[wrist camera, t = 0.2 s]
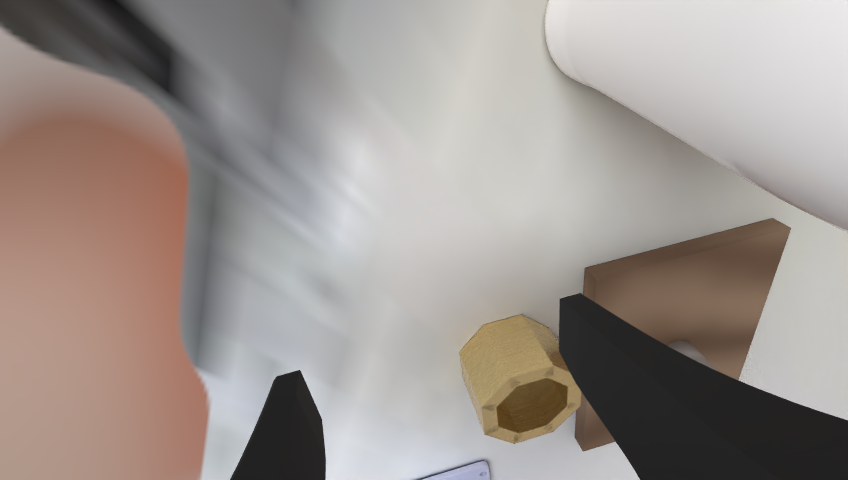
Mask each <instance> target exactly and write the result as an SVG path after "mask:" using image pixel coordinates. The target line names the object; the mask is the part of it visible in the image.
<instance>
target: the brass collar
mask: <svg viewBox="0 0 848 480" xmlns="http://www.w3.org/2000/svg"><path fill="white" fill-rule="evenodd" d="M459 353H460V360H461V367H462V374H463V379H464V382H465V384H466V387H467V390H468V392H469V395H470V398H471V400H472V403H473V405H474V408H475V411H476V413H477V416H478V419H479V421H480V424H481V426H482V429H483V432H484V434H485V435H488V436H491V437H494V438H497V439H501V440H504V441H507V442H510V443H514V444H515V443H518V442H521V441H525V440H528V439H531V438H535V437H538V436H541V435H544V434H548V433H551V432H553V431H554V430H555V429H556V428H557V427H558V426H559V425H561V424H562V423H563V422H564V421H565V420H566V419H567V418H568V417H569V416H570V415H571V414H572V413H573V412H574V411H575V410H576V409H578V408H579V407H580V403H581V390H580V389H579V387H578V386H577V384H576V383H575V381H574V379H573V377H572V375H571V373H570V372H569V370H568V368H567V366H566V364H565V362H564V360H563V358H562V356H561V354H560V352H559V343H558V342H557V340H556V339H555V337H554V336H553V334H552V333H551V331H550V330H549V328H548V327H546V326H544V325H542V324H540V323H538V322H536V321H534V320H532V319H530V318H528V317H526V316H524V315H518V316H514V317H511V318H507V319H503V320H500V321H496V322H492V323H489V324H485V325H483V326H482V327H481V328H480V330H479V331H478V332H477V333H476V334H475V335H474V336H473V337H472V339H471V340H470V341H469V342H468V343H467V344H466V345H465V347H464V348H463V349H462V350H461V351H460V352H459Z"/></svg>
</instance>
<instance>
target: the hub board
mask: <svg viewBox="0 0 848 480" xmlns="http://www.w3.org/2000/svg"><path fill="white" fill-rule="evenodd" d="M790 230H791V228H790V227H788V226H786V225H785V224H783V223H781V222H779V221H777V220H775V219H773V218H772V219H768V220H765V221H761V222H757V223H753V224H749V225H746V226H742V227H738V228H734V229H731V230H727V231H723V232H719V233H715V234H712V235H708V236H704V237H700V238H696V239H693V240H689V241H685V242H681V243H678V244H674V245H670V246H666V247H662V248H659V249H655V250H651V251H647V252H644V253H640V254H636V255H632V256H628V257H625V258H621V259H617V260H613V261H610V262H606V263H602V264H598V265H594V266H591V267H587V268H585V275H584V292H583V295H584V296H586V297H587V298H589V299H591V300H592V301H594V302H595V303H597V304H599V305H600V306H602V307H603V308H605V309H606V310H608V311H610V312H611V313H613V314H614V315H616V316H618V317H619V318H621V319H622V320H624V321H626V322H627V323H629V324H631V325H632V326H634V327H636V328H637V329H639V330H641V331H642V332H644V333H646V334H647V335H649V336H651V337H653V338H654V339H656V340H658V341H660V342H661V343H663V344H665V345H667V346H669V347H670V348H672V349H674V350H676V351H678V352H680V353H682V354H684V355H686V356H688V357H690V358H691V359H693V360H695V361H697V362H699V363H701V364H703V365H706V366H708V367H710V368H712V369H714V370H716V371H718V372H721V373H723V374H725V375H727V376H730V377H732V378H734V379H736V380H738V379H739V377H740V374H741V371H742V368H743V365H744V362H745V359H746V356H747V354H748V351H749V348H750V345H751V342H752V339H753V336H754V333H755V331H756V328H757V325H758V322H759V319H760V316H761V313H762V310H763V308H764V305H765V302H766V299H767V296H768V293H769V290H770V287H771V285H772V282H773V279H774V276H775V273H776V270H777V267H778V264H779V262H780V259H781V256H782V253H783V250H784V247H785V244H786V241H787V239H788V236H789V233H790ZM575 438H576V440H577V442H578V444H579V445H580V447H581V449H582V451H587V450H590V449H593V448H596V447H599V446H603V445H606V444H609V443H612V442H615V440H614V438H613V437H612V435H611V434H610V433H609V431H608V430H607V428H606V427H605V425H604V424H603V422H602V421H601V420H600V418H599V417H598V415H597V414H596V412H595V411H594V409H593V408H592V407H591V405H590V404H589V402H588V401H587V399H586V398H585V396H584V395H583V393H582V392H581V403H580V407H579V408H578V409H577V410H576V427H575Z"/></svg>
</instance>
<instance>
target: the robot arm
mask: <svg viewBox="0 0 848 480" xmlns="http://www.w3.org/2000/svg"><path fill="white" fill-rule="evenodd" d="M559 352H560V354H561V356H562V358H563V360H564V362H565V364H566V366H567V368H568V370H569V372H570V373H571V375H572V377H573V379H574V381H575V383H576V384H577V386H578V387H579V389H580V390H581V392H582V393H583V395H584V396H585V398H586V399H587V401H588V402H589V404H590V405H591V407H592V408H593V409H594V411H595V412H596V414H597V415H598V417H599V418H600V420H601V421H602V422H603V424H604V425H605V427H606V428H607V430H608V431H609V433H610V434H611V435H612V437H613V438H614V440H615V441H616V443H617V444H618V445H619V447H620V448H621V450H622V451H623V453H624V454H625V456H626V457H627V459H628V460H629V462H630V464H631V465H632V467H633V468H634V470H635V471H636V473H637V475H638V477H639V478H640V480H848V420H845V419H841V418H838V417H835V416H832V415H829V414H826V413H823V412H820V411H817V410H814V409H811V408H808V407H805V406H802V405H800V404H797V403H794V402H791V401H789V400H786V399H783V398H781V397H778V396H776V395H773V394H770V393H768V392H765V391H763V390H760V389H757V388H755V387H753V386H750V385H748V384H745V383H743V382H741V381H738V380H736V379H734V378H732V377H730V376H727V375H725V374H723V373H721V372H718V371H716V370H714V369H712V368H710V367H708V366H706V365H703V364H701V363H699V362H697V361H695V360H693V359H691V358H690V357H688V356H686V355H684V354H682V353H680V352H678V351H676V350H674V349H672V348H670V347H669V346H667V345H665V344H663V343H661V342H660V341H658V340H656V339H654V338H653V337H651V336H649V335H647V334H646V333H644V332H642V331H641V330H639V329H637V328H636V327H634V326H632V325H631V324H629V323H627V322H626V321H624V320H622V319H621V318H619V317H618V316H616V315H614V314H613V313H611V312H610V311H608V310H606V309H605V308H603V307H602V306H600V305H599V304H597V303H595V302H594V301H592V300H591V299H589V298H587V297H586V296H584V295H583V294H581V293H579V294H576V295H572V296H568V297H565V298H561V299H560V320H559ZM325 472H326V457H325V446H324V435H323V426H322V419H321V416H320V414H319V412H318V410H317V407H316V405H315V403H314V400H313V398H312V396H311V394H310V391H309V389H308V387H307V384H306V382H305V380H304V378H303V375H302V373H301V371H300V370H298V371H295V372H291V373H287V374H284V375H280V376H277V377H276V378H275V380H274V381H273V384H272V387H271V389H270V392H269V394H268V397H267V400H266V402H265V405H264V407H263V410H262V412H261V414H260V417H259V419H258V421H257V424H256V426H255V428H254V431H253V433H252V435H251V437H250V439H249V442H248V444H247V446H246V448H245V450H244V453H243V455H242V457H241V459H240V461H239V463H238V465H237V467H236V469H235V471H234V473H233V475H232V477H231V479H230V480H325ZM422 480H490V473H489V467H488V464H487V462H485V461H481V462H477V463H474V464H471V465H467V466H464V467H461V468H458V469H454V470H451V471H448V472H445V473H441V474H438V475H435V476H431V477H428V478H425V479H422Z"/></svg>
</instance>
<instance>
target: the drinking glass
mask: <svg viewBox="0 0 848 480" xmlns="http://www.w3.org/2000/svg"><path fill="white" fill-rule="evenodd" d="M545 37H546V42H547V46H548V49H549V52H550V55H551V57H552V59H553V60H554V62H555V64H556V65H557V66H558V68H559V69H560V70H561V71H562V72H563V73H564V74H566V75H567V76H568V77H570V78H571V79H573V80H575V81H577V82H579V83H582V84H584V85H587V86H589V87H591V88H594V89H596V90H597V91H599V92H601V93H603V94H604V95H606V96H608V97H610V98H611V99H613V100H615V101H616V102H618V103H620V104H622V105H623V106H625V107H627V108H628V109H630V110H632V111H633V112H635V113H637V114H638V115H640V116H642V117H643V118H645V119H647V120H648V121H650V122H652V123H653V124H655V125H657V126H658V127H660V128H662V129H663V130H665V131H667V132H668V133H670V134H672V135H673V136H675V137H676V138H678V139H680V140H681V141H683V142H685V143H686V144H688V145H690V146H691V147H693V148H694V149H696V150H698V151H699V152H701V153H703V154H704V155H706V156H708V157H709V158H711V159H713V160H714V161H716V162H717V163H719V164H721V165H722V166H724V167H726V168H727V169H729V170H731V171H732V172H734V173H736V174H737V175H739V176H741V177H743V178H744V179H746V180H748V181H749V182H751V183H753V184H754V185H756V186H758V187H760V188H761V189H763V190H765V191H767V192H769V193H770V194H772V195H774V196H776V197H778V198H779V199H781V200H783V201H785V202H787V203H789V204H791V205H793V206H795V207H797V208H798V209H800V210H802V211H804V212H806V213H808V214H810V215H812V216H814V217H816V218H818V219H820V220H822V221H824V222H826V223H829V224H831V225H833V226H835V227H837V228H839V229H841V230H843V231H845V232H848V0H548V3H547V8H546V14H545Z"/></svg>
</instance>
